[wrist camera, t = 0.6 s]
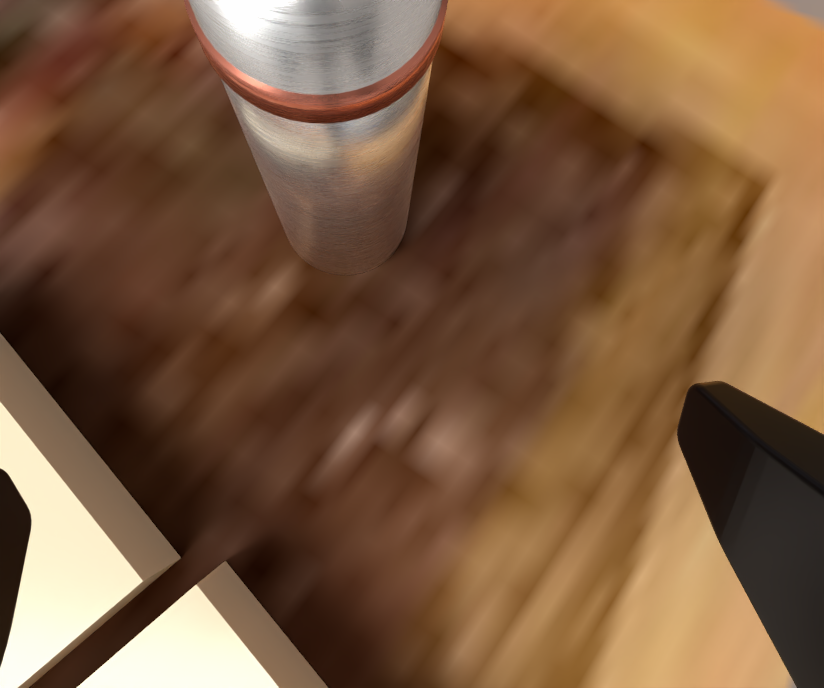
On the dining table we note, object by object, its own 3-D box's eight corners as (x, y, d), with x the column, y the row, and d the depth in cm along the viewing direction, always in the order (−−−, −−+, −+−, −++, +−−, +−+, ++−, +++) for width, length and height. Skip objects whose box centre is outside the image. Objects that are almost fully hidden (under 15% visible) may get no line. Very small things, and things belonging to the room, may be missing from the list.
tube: (436, 223, 23) (532, -104, 9) (337, 304, 22) (280, 83, 9) (353, 129, 23) (326, -322, 10) (253, 206, 23) (68, -158, 9)
